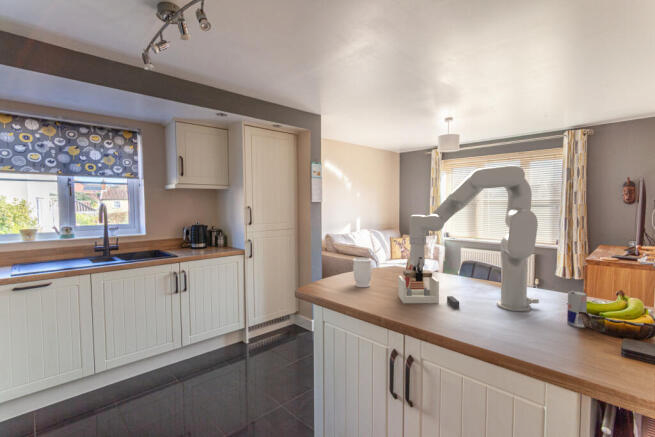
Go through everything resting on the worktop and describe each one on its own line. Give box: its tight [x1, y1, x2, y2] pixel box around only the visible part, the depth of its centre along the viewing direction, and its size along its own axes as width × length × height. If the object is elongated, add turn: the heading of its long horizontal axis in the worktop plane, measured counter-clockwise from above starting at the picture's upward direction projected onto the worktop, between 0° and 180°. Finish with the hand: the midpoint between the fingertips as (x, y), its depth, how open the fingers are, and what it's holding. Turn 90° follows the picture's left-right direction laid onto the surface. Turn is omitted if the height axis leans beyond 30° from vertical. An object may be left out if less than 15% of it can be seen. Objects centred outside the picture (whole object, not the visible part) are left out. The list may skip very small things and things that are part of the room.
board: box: [402, 269, 433, 278], centre depth 145 cm, size 12×6×2 cm, turn 88°
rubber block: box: [446, 295, 460, 310], centre depth 136 cm, size 2×8×3 cm, turn 178°
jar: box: [352, 256, 373, 288], centre depth 171 cm, size 11×10×15 cm
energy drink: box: [566, 290, 588, 329], centre depth 112 cm, size 5×5×12 cm
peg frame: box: [397, 275, 440, 304], centre depth 145 cm, size 16×11×10 cm
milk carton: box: [404, 255, 426, 290], centre depth 164 cm, size 9×9×20 cm
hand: (417, 279), depth 145 cm, fingers closed on board, 5 cm apart
